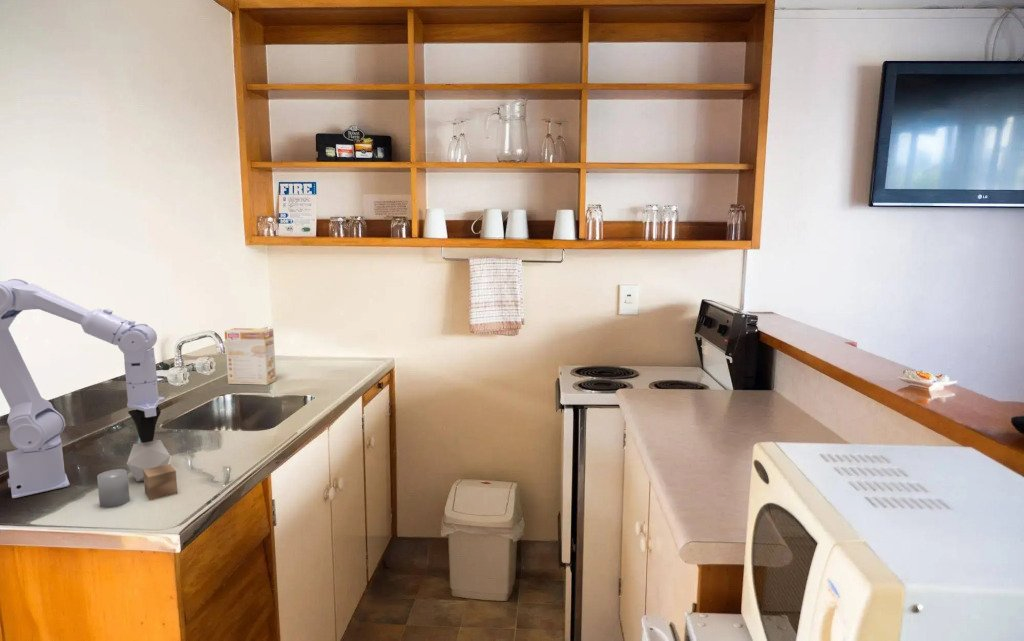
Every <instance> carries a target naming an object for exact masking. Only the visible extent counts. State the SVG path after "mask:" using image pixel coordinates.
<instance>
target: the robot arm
mask: <svg viewBox="0 0 1024 641" xmlns="http://www.w3.org/2000/svg"><path fill="white" fill-rule="evenodd" d="M29 310H31V311H32V310H40V311H43V312H45V313H49V314H51V315H54V316H57V317H60V318H61V319H64V320H67V321H70V322H73V323H74V324H75V323H76V324H78V325H80V327H81V328H82V331H83V332H84V333H85V334H88V335H89V336H92V337H94V338H97V339H99V340H102V341H103V342H107V343H109V344H112V345H114V346H117V347H118V349H119V350H120V352H122V353H123V359H124V373H125V374H124V375H125V384H126V385H125V386H126V396H127V402H126V405H127V408H130V409H132V410H128V411H127V413H128V414H129V415H130V417H131V419H132V420H133V423H134V425H135V427H136V430H137V435H138V438H139V441H140V443H146V442H151V441H154V439H155V432H156V431H155V430H156V426H157V421H158V420H159V417H160V416H161V414H162V412H161V409H160V408H159V406H158V405H160V403H163V402H166V397H164V396H159V389H158V387H159V386H158V376H157V363H156V362H157V361H156V356H155V347H154V346H155V345H156V343H157V340H158V337H157V336H158V334H157V333H156V331H155V330H154V329H153V328H152V327H151V326H149V325H148V324H146V323H139V324H136V321H135V320H133V319H129V320H127V319H125V318H123V317H121V316H118V315H116V314H113V312H114V311H113V310H112V309H109V308H105V309H102V308H95V309H92V310H89V309H87V308H85V307H82V306H81V305H79V304H76V303H74V302H72V301H70V300H68V299H66V298H64V297H62V296H61V295H57V294H56V293H54V292H51V291H49V290H46V289H45V288H43V287H42V286H41V285H37V284H34V283H29V282H27V281H26V280H24V279H18V278H11V279H8V280H2V281H0V391H1V392H2V395H3V396H4V398H5V400H6V403H7V405H8V406H9V408H10V409H9V414H8V417H7V421H6V422H7V425H8V426H9V440H10V443H11V444H12V445H13V447H15V448H16V449H14V450H11V451H7V452H6V460H7V467H8V475H9V477H8V478H7V484H8V485H7V486H8V488H10V492H11V498H12V499H17V498H21V497H25V496H26V497H27V496H31V495H35V494H39V493H44V492H48V491H53V490H57V489H61V488H62V489H63V488H66V487H69V486H70V481H69V478H68V475H67V473H66V471H65V463H64V453H63V444H62V443H63V442H62V438H61V434H62V433H63V431H64V430H65V427H66V420H65V417H64V415H62V414H61V413H60V412H58V411H57V410H56V409H55V408H54V406H53V404H52V402H50V401H48V400H47V399H46V398H43V397H42V395H41V393H40V392H39V390H38V387H37V385H36V383H35V381H34V379H33V377H32V375H31V373H30V371H29V368H28V366H27V365H26V362H25V361H24V359H23V356H22V354H21V352H20V350H19V348H18V346H17V344H16V342H15V340H14V338H13V336H12V333H11V332H10V329H9V328H10V327H11V324H12V323H13V322H14V320H16V317H17V316H18V315H19V314H20V313H22V312H23V311H29Z"/></svg>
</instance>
